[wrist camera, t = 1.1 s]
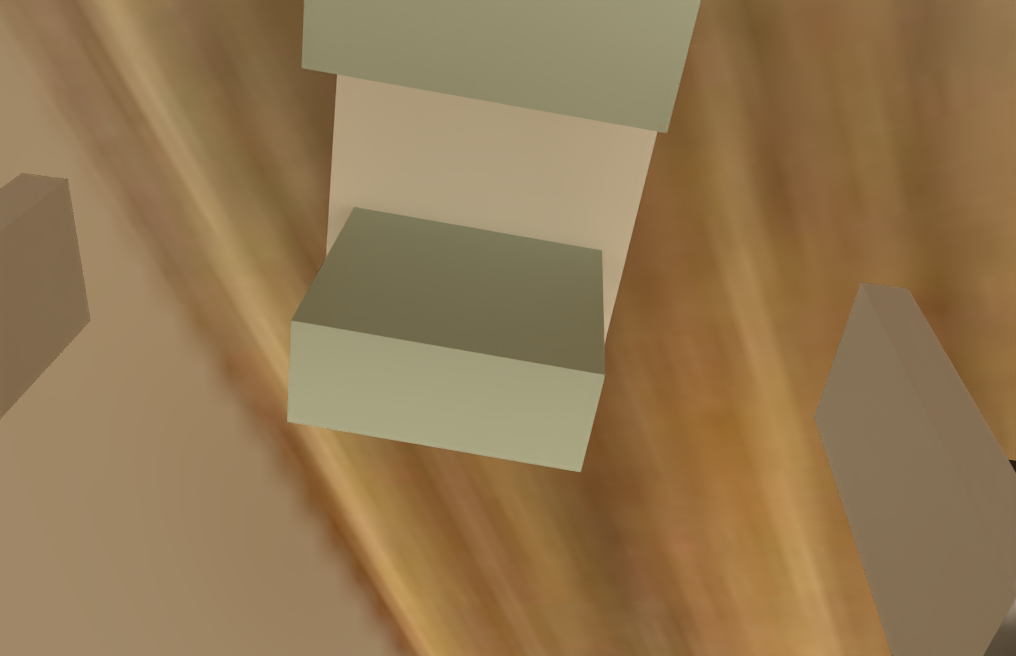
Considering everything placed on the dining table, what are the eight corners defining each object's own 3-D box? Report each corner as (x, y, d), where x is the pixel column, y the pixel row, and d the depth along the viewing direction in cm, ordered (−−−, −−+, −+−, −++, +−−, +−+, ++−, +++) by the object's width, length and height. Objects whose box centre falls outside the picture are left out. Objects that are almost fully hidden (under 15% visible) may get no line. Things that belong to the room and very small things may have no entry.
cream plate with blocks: (357, -149, 31) (268, -122, 23) (707, -86, 31) (751, -35, 23) (329, 288, 40) (257, 428, 31) (602, 336, 40) (606, 488, 31)
